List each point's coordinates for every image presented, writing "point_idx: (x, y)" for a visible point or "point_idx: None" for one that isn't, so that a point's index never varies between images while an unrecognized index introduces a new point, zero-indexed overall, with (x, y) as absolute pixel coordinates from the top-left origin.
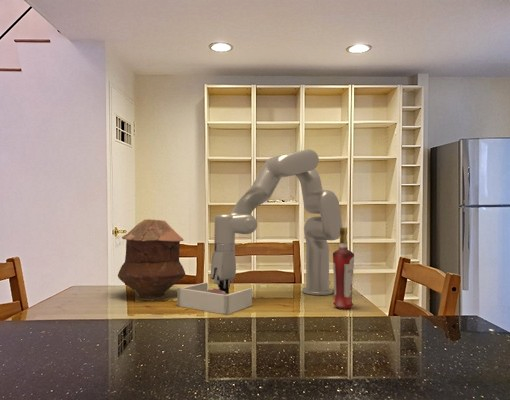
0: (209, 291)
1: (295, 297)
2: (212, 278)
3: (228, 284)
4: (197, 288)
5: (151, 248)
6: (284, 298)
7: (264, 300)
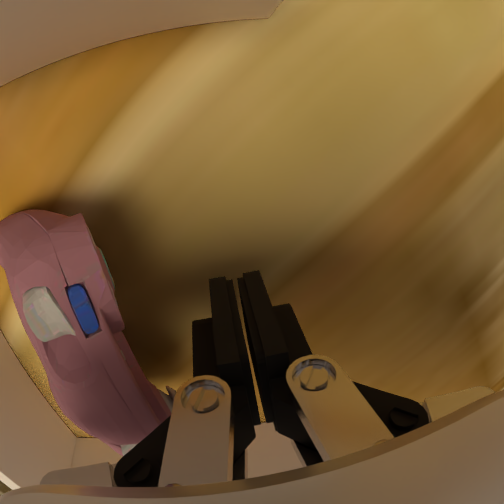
0: (31, 341)
1: (499, 384)
2: (37, 499)
3: (307, 453)
4: (18, 19)
5: None
6: (483, 381)
7: (434, 375)
